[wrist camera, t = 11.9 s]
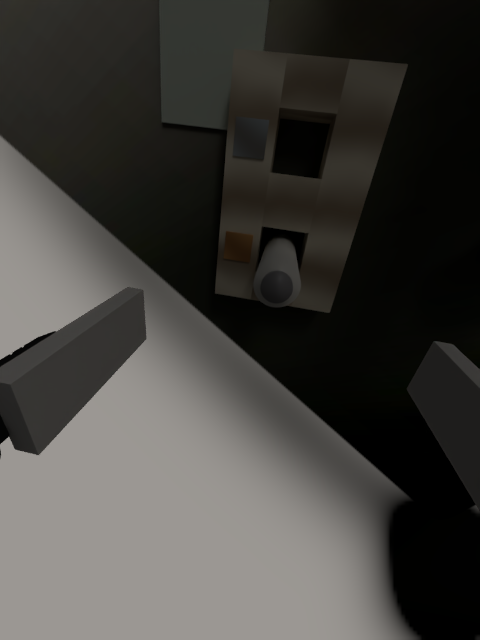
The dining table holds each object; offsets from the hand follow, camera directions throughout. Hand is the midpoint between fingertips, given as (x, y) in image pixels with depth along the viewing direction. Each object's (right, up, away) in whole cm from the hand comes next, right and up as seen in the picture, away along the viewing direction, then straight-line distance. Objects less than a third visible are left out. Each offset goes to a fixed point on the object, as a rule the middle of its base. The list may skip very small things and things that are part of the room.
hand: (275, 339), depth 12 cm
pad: (-5, +26, +13) cm, 29 cm away
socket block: (+4, +14, +17) cm, 23 cm away
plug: (+3, +10, +20) cm, 22 cm away
